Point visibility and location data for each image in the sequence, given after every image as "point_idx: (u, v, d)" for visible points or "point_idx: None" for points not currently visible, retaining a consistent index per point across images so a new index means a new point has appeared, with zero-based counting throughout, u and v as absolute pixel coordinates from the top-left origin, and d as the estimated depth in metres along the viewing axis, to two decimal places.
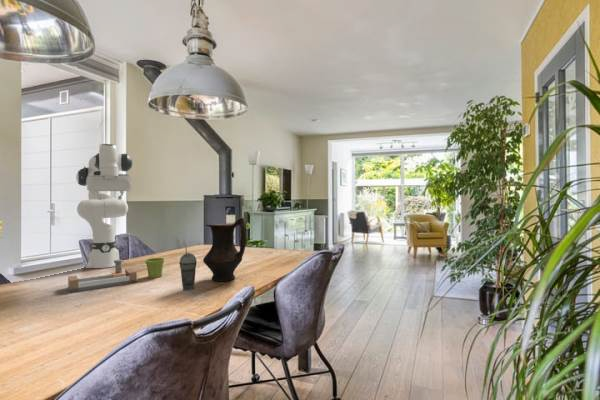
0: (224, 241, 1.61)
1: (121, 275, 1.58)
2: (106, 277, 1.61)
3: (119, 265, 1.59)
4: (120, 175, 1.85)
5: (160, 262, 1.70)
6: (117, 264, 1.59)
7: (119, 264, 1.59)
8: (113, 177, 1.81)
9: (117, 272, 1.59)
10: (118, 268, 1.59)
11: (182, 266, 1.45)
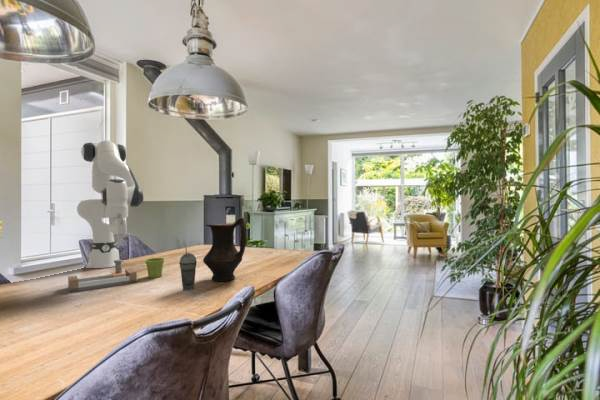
0: (224, 241, 1.61)
1: (121, 275, 1.58)
2: (106, 277, 1.61)
3: (119, 265, 1.59)
4: (118, 216, 1.55)
5: (160, 262, 1.70)
6: (117, 264, 1.59)
7: (119, 264, 1.59)
8: (111, 219, 1.57)
9: (117, 272, 1.59)
10: (118, 268, 1.59)
11: (182, 266, 1.45)
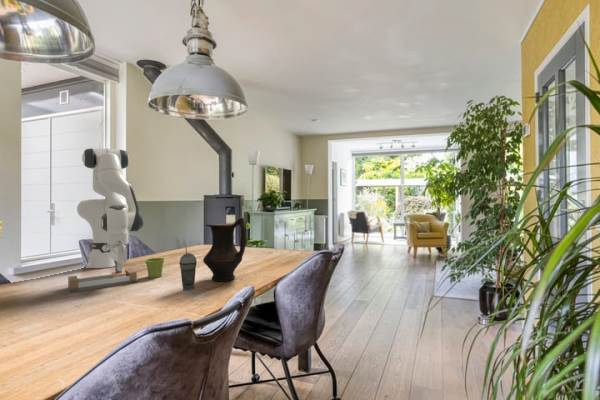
0: (224, 241, 1.61)
1: (121, 275, 1.58)
2: (106, 277, 1.61)
3: None
4: (119, 243, 1.56)
5: (160, 262, 1.70)
6: None
7: None
8: (112, 246, 1.57)
9: (117, 272, 1.59)
10: None
11: (182, 266, 1.45)
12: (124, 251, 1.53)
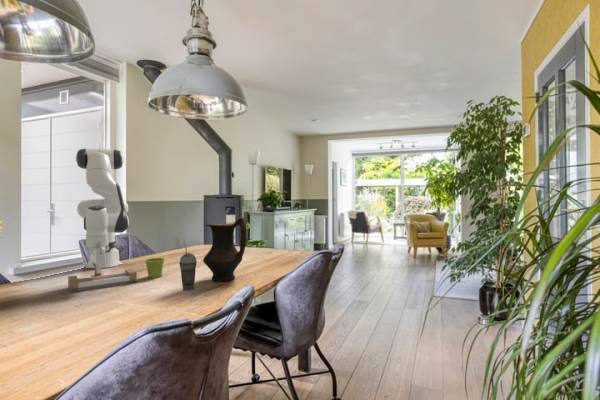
0: (224, 241, 1.61)
1: (100, 278, 1.53)
2: (106, 277, 1.61)
3: None
4: (98, 245, 1.51)
5: (160, 262, 1.70)
6: None
7: None
8: (91, 248, 1.52)
9: (96, 275, 1.54)
10: None
11: (182, 266, 1.45)
12: (103, 253, 1.48)
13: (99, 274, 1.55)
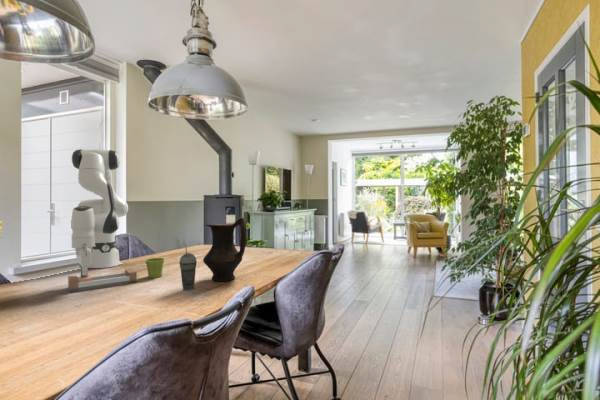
0: (224, 241, 1.61)
1: (86, 280, 1.50)
2: (106, 277, 1.61)
3: None
4: (83, 246, 1.47)
5: (160, 262, 1.70)
6: None
7: None
8: (76, 249, 1.49)
9: (82, 276, 1.51)
10: None
11: (182, 266, 1.45)
12: (88, 254, 1.45)
13: (85, 276, 1.51)
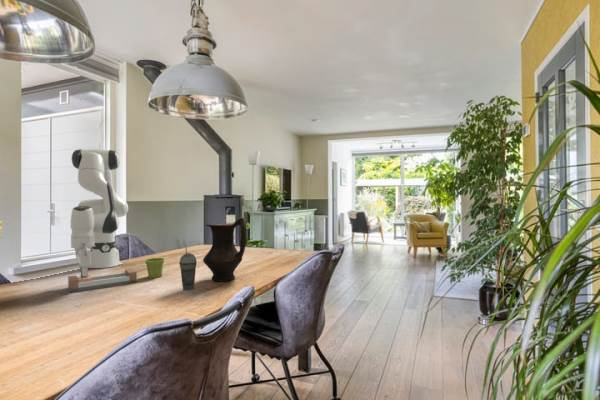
0: (224, 241, 1.61)
1: (86, 280, 1.50)
2: (106, 277, 1.61)
3: None
4: (83, 246, 1.47)
5: (160, 262, 1.70)
6: None
7: None
8: (76, 249, 1.49)
9: (82, 276, 1.51)
10: None
11: (182, 266, 1.45)
12: (88, 254, 1.45)
13: (85, 276, 1.51)
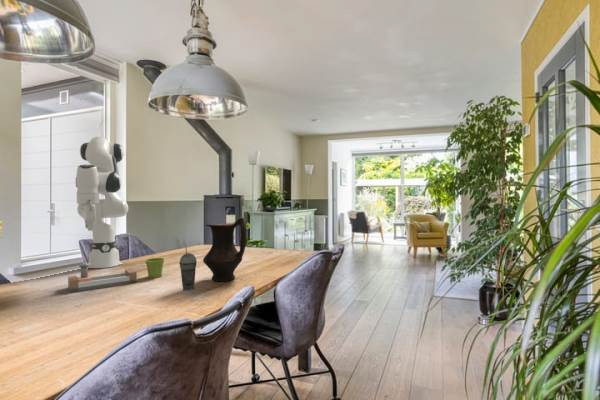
0: (224, 241, 1.61)
1: (86, 280, 1.50)
2: (106, 277, 1.61)
3: (85, 269, 1.51)
4: (88, 202, 1.54)
5: (160, 262, 1.70)
6: (82, 268, 1.51)
7: (85, 268, 1.51)
8: (81, 205, 1.56)
9: (82, 276, 1.51)
10: (83, 272, 1.51)
11: (182, 266, 1.45)
12: (93, 209, 1.52)
13: (85, 276, 1.51)
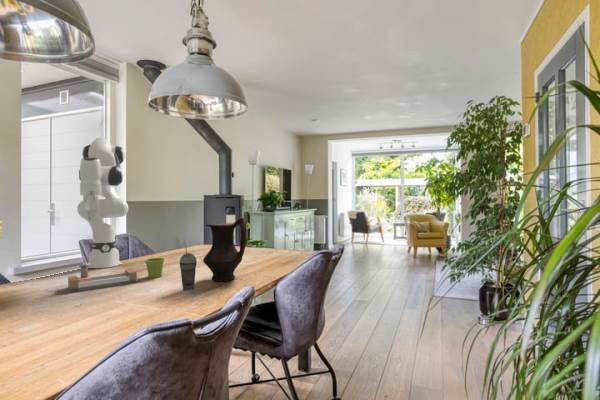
0: (224, 241, 1.61)
1: (86, 280, 1.50)
2: (106, 277, 1.61)
3: (85, 269, 1.51)
4: (91, 193, 1.58)
5: (160, 262, 1.70)
6: (82, 268, 1.51)
7: (85, 268, 1.51)
8: (85, 196, 1.60)
9: (82, 276, 1.51)
10: (83, 272, 1.51)
11: (182, 266, 1.45)
12: (96, 200, 1.56)
13: (85, 276, 1.51)
